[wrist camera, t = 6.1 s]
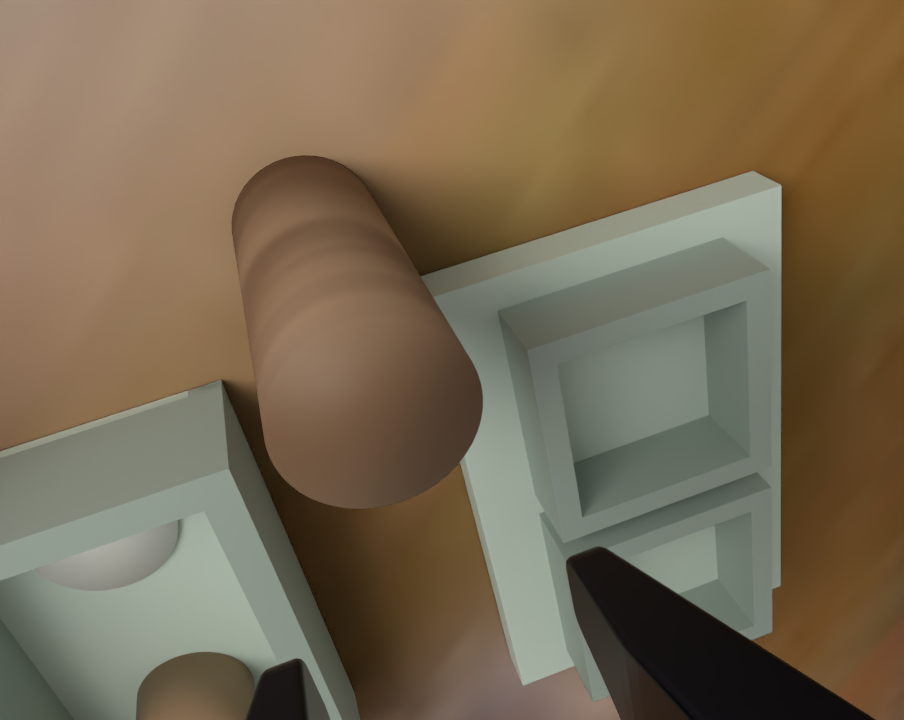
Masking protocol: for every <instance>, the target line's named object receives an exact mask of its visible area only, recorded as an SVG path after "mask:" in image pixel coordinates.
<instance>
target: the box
mask: <svg viewBox="0 0 904 720" xmlns="http://www.w3.org/2000/svg"><path fill="white" fill-rule="evenodd" d="M296 658H299V659H302V660H303V661H304V662H305V664H306V665H307V667H308V670H309V672H310V674H311V676H312V678H313V680H314V682H315V685H316V687H317V689H318V691H319V693H320V695H321V697H322V700H323V702H324V704H325V706H326V709H327V711H328V714H329V717H330V720H360V715H359V711H358V706H357V702H356V697H355V693H354V690H353V688H352V686H351V683H350V681H349V679H348V676H347V674H346V672H345V669H344V667H343V665H342V662H341V660H340V658H339V655H338V653H337V651H336V648H335V646H334V644H333V641H332V639H331V637H330V634H329V632H328V630H327V627H326V625H325V622H324V620H323V618H322V615H321V613H320V611H319V608H318V606H317V604H316V601H315V599H314V597H313V594H312V592H311V590H310V587H309V585H308V583H307V580H306V578H305V576H304V573H303V571H302V569H301V566H300V564H299V562H298V559H297V557H296V555H295V552H294V550H293V547H292V545H291V543H290V540H289V538H288V536H287V533H286V531H285V529H284V526H283V524H282V522H281V519H280V517H279V515H278V512H277V510H276V508H275V505H274V503H273V501H272V498H271V496H270V494H269V491H268V489H267V487H266V484H265V482H264V479H263V477H262V475H261V472H260V470H259V468H258V465H257V463H256V461H255V458H254V456H253V454H252V451H251V449H250V447H249V444H248V442H247V440H246V437H245V435H244V433H243V430H242V428H241V426H240V423H239V421H238V419H237V416H236V414H235V412H234V409H233V407H232V404H231V402H230V400H229V397H228V395H227V393H226V390H225V388H224V386H223V383H222V381H221V380H219V381H216V382H213V383H210V384H206V385H203V386H200V387H197V388H194V389H191V390H188V391H185V392H182V393H179V394H176V395H172V396H169V397H166V398H163V399H160V400H157V401H154V402H151V403H148V404H145V405H142V406H138V407H135V408H132V409H129V410H126V411H123V412H120V413H117V414H114V415H111V416H108V417H104V418H101V419H98V420H95V421H92V422H89V423H86V424H83V425H80V426H77V427H74V428H71V429H67V430H64V431H61V432H58V433H55V434H52V435H49V436H46V437H43V438H40V439H37V440H33V441H30V442H27V443H24V444H21V445H18V446H15V447H12V448H9V449H6V450H3V451H0V720H245V719H246V716H247V713H248V710H249V707H250V704H251V702H252V699H253V696H254V693H255V690H256V687H257V684H258V681H259V678H260V676H261V674H262V673H263V672H264V671H265V670H266V669H268V668H271V667H273V666H276V665H279V664H281V663H284V662H287V661H289V660H292V659H296Z"/></svg>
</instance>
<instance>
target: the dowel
mask: <svg viewBox="0 0 904 720" xmlns="http://www.w3.org/2000/svg"><path fill="white" fill-rule="evenodd" d="M232 234H233V241H234V248H235V254H236V260H237V267H238V273H239V280H240V286H241V293H242V299H243V305H244V312H245V318H246V325H247V331H248V338H249V344H250V350H251V357H252V363H253V370H254V376H255V383H256V389H257V396H258V402H259V408H260V415H261V421H262V428H263V434H264V441H265V446H266V449H267V452H268V455H269V457H270V459H271V461H272V463H273V465H274V467H275V468H276V470H277V471H278V472H279V474H280V475H281V476H282V477H283V478H284V479H285V480H286V481H287V482H288V483H289V484H290V485H291V486H292V487H293V488H295V489H296V490H297V491H299V492H300V493H302V494H303V495H305V496H307V497H309V498H311V499H313V500H316V501H318V502H321V503H323V504H327V505H331V506H335V507H342V508H349V509H367V508H377V507H383V506H388V505H392V504H395V503H399V502H402V501H405V500H407V499H410V498H412V497H414V496H417V495H418V494H420V493H422V492H424V491H426V490H428V489H429V488H431V487H432V486H434V485H435V484H437V483H438V482H439V481H441V480H442V479H443V478H444V477H446V476H447V475H448V474H449V473H450V472H451V471H452V470H453V469H454V468H455V467H456V466H457V465H458V464H459V462H460V461H461V460H462V458H463V457H464V456H465V455H466V453H467V451H468V450H469V448H470V446H471V445H472V443H473V441H474V439H475V436H476V434H477V432H478V429H479V425H480V422H481V417H482V411H483V393H482V386H481V382H480V379H479V375H478V372H477V370H476V368H475V366H474V364H473V362H472V361H471V359H470V357H469V356H468V354H467V352H466V351H465V349H464V347H463V346H462V344H461V343H460V341H459V339H458V338H457V336H456V334H455V333H454V331H453V329H452V328H451V326H450V324H449V323H448V321H447V319H446V318H445V316H444V314H443V313H442V311H441V310H440V308H439V306H438V305H437V303H436V301H435V300H434V298H433V296H432V295H431V293H430V291H429V290H428V288H427V286H426V285H425V283H424V281H423V280H422V278H421V277H420V275H419V273H418V272H417V270H416V268H415V267H414V265H413V263H412V262H411V260H410V258H409V257H408V255H407V253H406V252H405V250H404V248H403V247H402V245H401V244H400V242H399V240H398V239H397V237H396V235H395V234H394V232H393V230H392V229H391V227H390V225H389V224H388V222H387V220H386V219H385V217H384V215H383V214H382V212H381V211H380V209H379V207H378V206H377V204H376V202H375V201H374V199H373V197H372V196H371V194H370V192H369V191H368V189H367V188H366V186H365V185H364V183H363V182H362V181H361V180H360V179H359V178H358V177H357V176H356V175H355V174H354V173H353V172H352V171H350V170H349V169H348V168H346V167H345V166H343V165H341V164H339V163H337V162H335V161H333V160H329V159H326V158H323V157H317V156H294V157H289V158H285V159H282V160H279V161H276V162H274V163H272V164H270V165H268V166H266V167H265V168H263V169H262V170H260V171H259V172H258V173H256V174H255V175H254V176H253V177H252V178H251V179H250V180H249V181H248V183H247V184H246V185H245V186H244V188H243V190H242V191H241V193H240V194H239V197H238V199H237V201H236V204H235V207H234V211H233V216H232Z"/></svg>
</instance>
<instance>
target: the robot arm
mask: <svg viewBox="0 0 904 720" xmlns="http://www.w3.org/2000/svg"><path fill="white" fill-rule="evenodd" d="M566 571H567V576H568V581H569V587H570V592H571V597H572V602H573V607H574V612H575V615H576V618H577V621H578V624H579V627H580V629H581V632H582V634H583V636H584V638H585V640H586V643H587V645H588V647H589V649H590V652H591V654H592V656H593V658H594V660H595V663H596V665H597V667H598V669H599V672H600V674H601V676H602V678H603V680H604V683H605V685H606V687H607V689H608V691H609V694H610V696H611V698H612V700H613V703H614V705H615V707H616V709H617V711H618V714H619V716H620V718H621V720H875V719H874V718H872V717H871V716H869V715H867V714H866V713H864V712H863V711H861V710H860V709H858V708H857V707H855V706H853V705H852V704H850V703H849V702H847V701H846V700H844V699H842V698H841V697H839V696H838V695H836V694H835V693H833V692H831V691H830V690H828V689H827V688H825V687H824V686H822V685H820V684H819V683H817V682H816V681H814V680H813V679H811V678H809V677H808V676H806V675H805V674H803V673H802V672H800V671H798V670H797V669H795V668H794V667H792V666H791V665H789V664H787V663H786V662H784V661H783V660H781V659H780V658H778V657H776V656H775V655H773V654H772V653H770V652H769V651H767V650H765V649H764V648H762V647H761V646H759V645H758V644H756V643H754V642H753V641H751V640H750V639H748V638H747V637H745V636H743V635H742V634H740V633H739V632H737V631H736V630H734V629H732V628H731V627H729V626H728V625H726V624H725V623H723V622H721V621H720V620H718V619H717V618H715V617H714V616H712V615H710V614H709V613H707V612H706V611H704V610H703V609H701V608H700V607H698V606H696V605H695V604H693V603H692V602H690V601H689V600H687V599H685V598H684V597H682V596H681V595H679V594H678V593H676V592H674V591H673V590H671V589H670V588H668V587H667V586H665V585H663V584H662V583H660V582H659V581H657V580H656V579H654V578H652V577H651V576H649V575H648V574H646V573H645V572H643V571H641V570H640V569H638V568H637V567H635V566H634V565H632V564H630V563H629V562H627V561H626V560H624V559H623V558H621V557H619V556H618V555H616V554H615V553H613V552H612V551H610V550H608V549H607V548H605V547H601V546H597V547H593V548H591V549H588V550H585V551H583V552H580V553H577V554H575V555H572V556H570V557H569V558H568V559H567V560H566ZM245 720H330V717H329V714H328V711H327V709H326V706H325V704H324V702H323V700H322V697H321V695H320V693H319V691H318V689H317V687H316V685H315V682H314V680H313V678H312V676H311V674H310V672H309V670H308V667H307V665H306V664H305V662H304V661H303V660H302V659H299V658H296V659H292V660H289V661H287V662H284V663H281V664H279V665H276V666H273V667H271V668H268V669H266V670H265V671H264V672H263V673H262V674H261V676H260V678H259V681H258V684H257V687H256V690H255V693H254V696H253V699H252V702H251V704H250V707H249V710H248V713H247V716H246V719H245Z"/></svg>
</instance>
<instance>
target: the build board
mask: <svg viewBox="0 0 904 720" xmlns="http://www.w3.org/2000/svg"><path fill="white" fill-rule="evenodd" d="M420 277H421V278H422V280H423V281H424V283H425V285H426V286H427V288H428V290H429V291H430V293H431V295H432V296H433V298H434V300H435V301H436V303H437V305H438V306H439V308H440V310H441V311H442V313H443V314H444V316H445V318H446V319H447V321H448V323H449V324H450V326H451V328H452V329H453V331H454V333H455V334H456V336H457V338H458V339H459V341H460V343H461V344H462V346H463V347H464V349H465V351H466V352H467V354H468V356H469V357H470V359H471V361H472V362H473V364H474V366H475V368H476V370H477V372H478V375H479V379H480V382H481V386H482V393H483V411H482V417H481V422H480V425H479V429H478V432H477V434H476V436H475V439H474V441H473V443H472V445H471V446H470V448H469V450H468V451H467V453H466V455H465V456H464V457H463V458H462V460H461V461H460V465H461V468H462V472H463V476H464V480H465V484H466V488H467V491H468V495H469V499H470V503H471V507H472V511H473V515H474V518H475V522H476V526H477V530H478V534H479V538H480V541H481V545H482V549H483V553H484V557H485V561H486V565H487V568H488V572H489V576H490V580H491V584H492V588H493V591H494V595H495V599H496V603H497V607H498V611H499V615H500V618H501V622H502V626H503V630H504V634H505V638H506V641H507V645H508V649H509V653H510V657H511V659H512V661H513V664H514V666H515V668H516V671H517V673H518V675H519V678H520V680H521V682H522V685H523V686H524V685H526V684H529V683H532V682H534V681H537V680H539V679H542V678H544V677H547V676H550V675H552V674H555V673H557V672H560V671H562V670H565V669H568V668H570V667H573V666H575V667H576V669H577V671H578V673H579V675H580V677H581V679H582V681H583V683H584V685H585V687H586V689H587V691H588V693H589V695H590V697H591V699H592V701H593V702H596V701H598V700H601V699H603V698H606V697H608V696H610V694H609V691H608V689H607V687H606V685H605V683H604V680H603V678H602V676H601V674H600V672H599V669H598V667H597V665H596V663H595V660H594V658H593V656H592V654H591V652H590V649H589V647H588V645H587V643H586V640H585V638H584V636H583V634H582V632H581V629H580V627H579V624H578V621H577V618H576V615H575V612H574V607H573V602H572V597H571V592H570V587H569V581H568V576H567V571H566V560H567V559H568V558H569V557H570V556H572V555H575V554H577V553H580V552H583V551H585V550H588V549H591V548H593V547H597V546H601V547H605V548H607V549H608V550H610V551H612V552H613V553H615V554H616V555H618V556H619V557H621V558H623V559H624V560H626V561H627V562H629V563H630V564H632V565H634V566H635V567H637V568H638V569H640V570H641V571H643V572H645V573H646V574H648V575H649V576H651V577H652V578H654V579H656V580H657V581H659V582H660V583H662V584H663V585H665V586H667V587H668V588H670V589H671V590H673V591H674V592H676V593H678V594H679V595H681V596H682V597H684V598H685V599H687V600H689V601H690V602H692V603H693V604H695V605H696V606H698V607H700V608H701V609H703V610H704V611H706V612H707V613H709V614H710V615H712V616H714V617H715V618H717V619H718V620H720V621H721V622H723V623H725V624H726V625H728V626H729V627H731V628H732V629H734V630H736V631H737V632H739V633H740V634H742V635H743V636H745V637H747V638H748V639H750V640H753V639H755V638H758V637H761V636H763V635H766V634H768V633H771V632H772V589H774V588H777V587H779V586H781V185H780V184H778V183H776V182H774V181H772V180H770V179H768V178H766V177H764V176H762V175H760V174H759V173H757V172H755V171H751V172H747V173H744V174H741V175H738V176H735V177H732V178H729V179H725V180H722V181H719V182H716V183H713V184H710V185H707V186H703V187H700V188H697V189H694V190H691V191H688V192H684V193H681V194H678V195H675V196H672V197H669V198H666V199H662V200H659V201H656V202H653V203H650V204H647V205H644V206H640V207H637V208H634V209H631V210H628V211H625V212H622V213H618V214H615V215H612V216H609V217H606V218H603V219H599V220H596V221H593V222H590V223H587V224H584V225H581V226H577V227H574V228H571V229H568V230H565V231H562V232H559V233H555V234H552V235H549V236H546V237H543V238H540V239H537V240H533V241H530V242H527V243H524V244H521V245H518V246H514V247H511V248H508V249H505V250H502V251H499V252H496V253H492V254H489V255H486V256H483V257H480V258H477V259H474V260H470V261H467V262H464V263H461V264H458V265H455V266H452V267H448V268H445V269H442V270H439V271H436V272H433V273H429V274H426V275H423V276H420Z"/></svg>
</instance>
